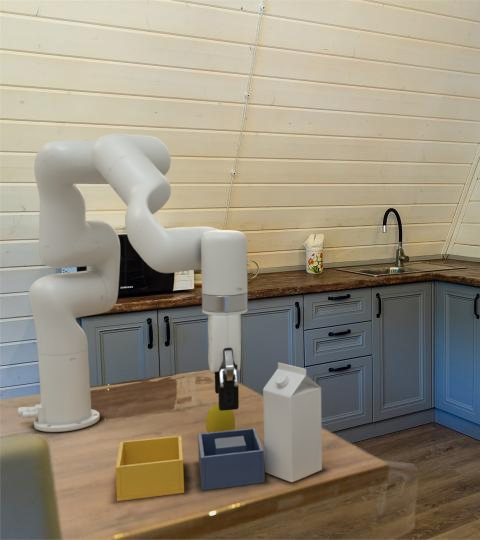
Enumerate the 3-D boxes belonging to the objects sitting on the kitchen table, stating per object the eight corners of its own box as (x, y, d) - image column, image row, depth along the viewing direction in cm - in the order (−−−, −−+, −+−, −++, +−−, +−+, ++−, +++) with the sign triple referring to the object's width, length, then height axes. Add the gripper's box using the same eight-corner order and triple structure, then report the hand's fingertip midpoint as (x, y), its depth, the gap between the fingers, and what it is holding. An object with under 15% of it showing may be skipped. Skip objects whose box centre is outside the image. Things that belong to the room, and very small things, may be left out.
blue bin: (202, 490, 119) (200, 457, 119) (198, 463, 131) (197, 433, 130) (264, 482, 122) (263, 450, 122) (256, 457, 134) (255, 427, 133)
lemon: (228, 448, 138) (227, 407, 137) (201, 446, 139) (200, 405, 138) (240, 438, 144) (239, 399, 143) (214, 436, 145) (213, 397, 144)
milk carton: (295, 461, 132) (293, 358, 130) (322, 470, 127) (321, 365, 125) (264, 473, 126) (262, 366, 124) (292, 483, 122) (290, 373, 120)
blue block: (217, 476, 123) (216, 448, 123) (215, 466, 128) (214, 438, 127) (247, 473, 125) (246, 445, 124) (244, 462, 130) (243, 435, 129)
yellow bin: (117, 501, 115) (115, 467, 115) (121, 472, 127) (120, 441, 126) (184, 492, 118) (183, 459, 118) (182, 465, 130) (181, 435, 129)
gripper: (199, 295, 130) (201, 388, 132) (204, 313, 114) (206, 418, 116) (242, 294, 132) (243, 385, 135) (253, 311, 116) (254, 414, 118)
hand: (226, 400), depth 125 cm, fingers open, 9 cm apart
